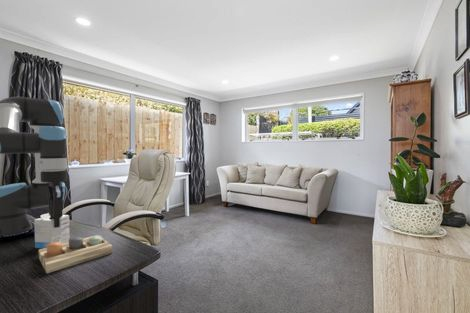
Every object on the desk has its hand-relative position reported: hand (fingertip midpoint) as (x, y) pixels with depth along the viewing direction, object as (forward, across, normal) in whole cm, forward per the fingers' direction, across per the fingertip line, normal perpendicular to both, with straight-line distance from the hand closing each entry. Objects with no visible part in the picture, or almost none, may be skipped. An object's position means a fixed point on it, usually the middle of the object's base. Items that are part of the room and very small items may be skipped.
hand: (56, 235), depth 83 cm
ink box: (+10, -19, +2) cm, 21 cm away
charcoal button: (+6, 0, +6) cm, 8 cm away
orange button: (+6, 0, -1) cm, 6 cm away
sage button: (+8, 0, +12) cm, 15 cm away
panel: (+9, 0, +6) cm, 11 cm away
